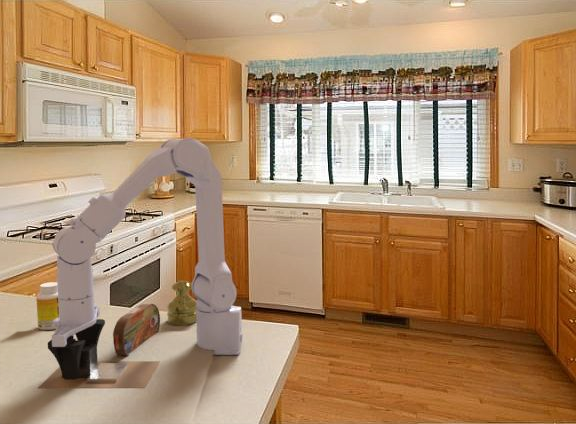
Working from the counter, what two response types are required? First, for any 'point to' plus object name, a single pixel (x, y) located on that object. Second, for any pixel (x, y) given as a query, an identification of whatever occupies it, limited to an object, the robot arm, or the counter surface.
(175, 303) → the green vase
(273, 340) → the counter surface
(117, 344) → the tin
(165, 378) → the counter surface
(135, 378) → the board
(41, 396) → the counter surface
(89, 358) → the grey pillar on tile
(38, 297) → the supplement bottle
